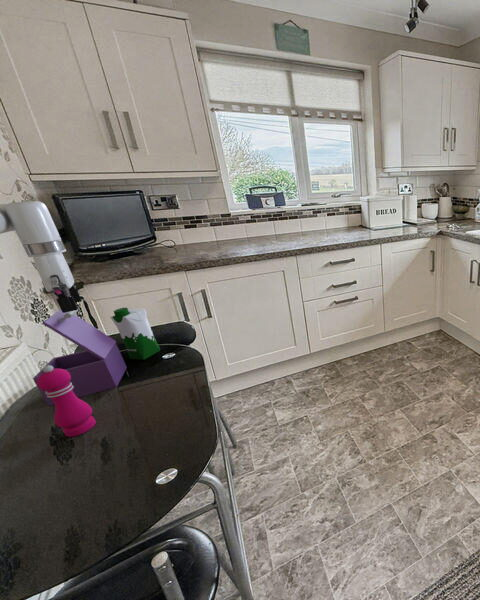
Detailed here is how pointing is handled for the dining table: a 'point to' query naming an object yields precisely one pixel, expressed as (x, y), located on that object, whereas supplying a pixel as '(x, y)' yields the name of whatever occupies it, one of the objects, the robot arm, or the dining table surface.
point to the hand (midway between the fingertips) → (72, 306)
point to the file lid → (80, 333)
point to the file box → (88, 372)
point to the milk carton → (135, 332)
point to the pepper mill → (66, 402)
